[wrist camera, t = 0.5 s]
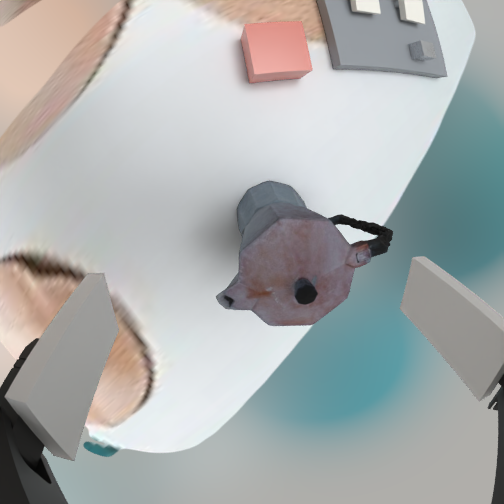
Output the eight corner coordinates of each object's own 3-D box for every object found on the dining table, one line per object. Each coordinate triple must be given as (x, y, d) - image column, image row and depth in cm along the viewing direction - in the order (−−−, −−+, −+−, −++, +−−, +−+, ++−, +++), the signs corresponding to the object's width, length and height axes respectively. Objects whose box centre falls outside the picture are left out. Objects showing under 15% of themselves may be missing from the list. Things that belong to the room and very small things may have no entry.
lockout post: (408, 44, 27) (420, 40, 24) (420, 46, 27) (432, 43, 24) (411, 59, 28) (424, 55, 25) (423, 61, 28) (436, 58, 25)
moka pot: (201, 204, 35) (185, 279, 17) (313, 155, 34) (407, 178, 16) (233, 267, 39) (250, 376, 21) (336, 220, 38) (425, 291, 20)
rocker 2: (395, -18, 21) (401, -19, 19) (414, -12, 21) (420, -13, 20) (400, 19, 25) (407, 19, 23) (419, 24, 25) (426, 24, 24)
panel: (307, -29, 24) (314, -41, 20) (412, -10, 24) (424, -16, 21) (333, 68, 30) (344, 63, 27) (437, 77, 31) (451, 76, 28)
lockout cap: (240, 38, 28) (244, 24, 23) (290, 34, 28) (301, 21, 23) (249, 83, 30) (254, 74, 26) (300, 78, 30) (312, 70, 26)
